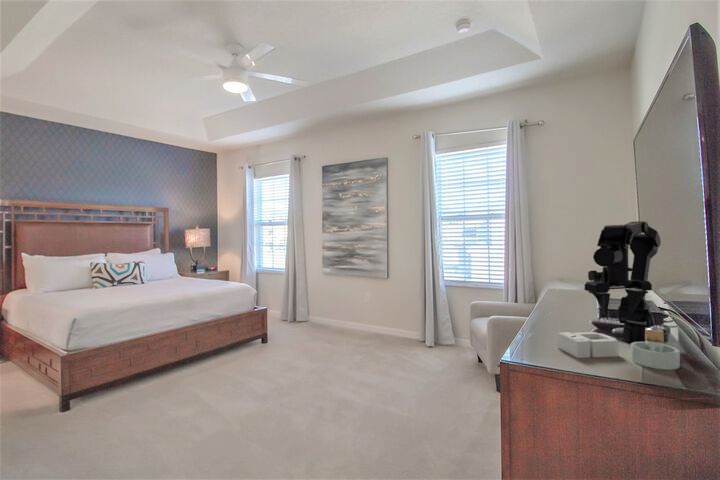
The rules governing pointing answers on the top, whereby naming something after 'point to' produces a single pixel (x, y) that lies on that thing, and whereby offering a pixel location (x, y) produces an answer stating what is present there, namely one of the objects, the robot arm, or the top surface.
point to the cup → (655, 356)
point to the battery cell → (654, 339)
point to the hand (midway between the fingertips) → (618, 312)
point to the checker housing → (587, 344)
